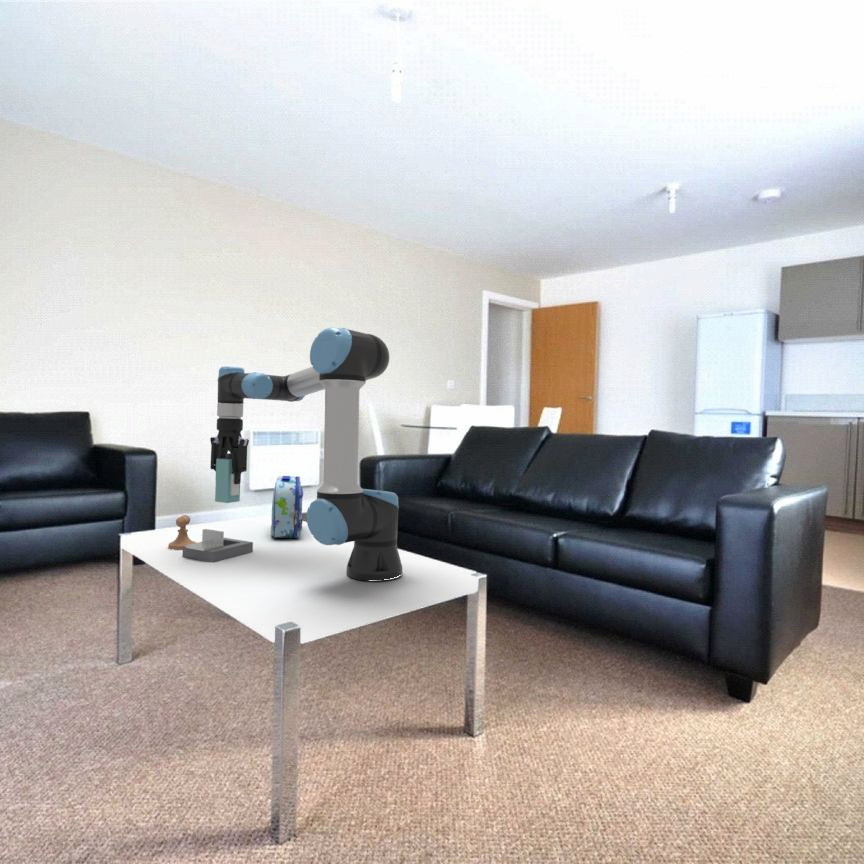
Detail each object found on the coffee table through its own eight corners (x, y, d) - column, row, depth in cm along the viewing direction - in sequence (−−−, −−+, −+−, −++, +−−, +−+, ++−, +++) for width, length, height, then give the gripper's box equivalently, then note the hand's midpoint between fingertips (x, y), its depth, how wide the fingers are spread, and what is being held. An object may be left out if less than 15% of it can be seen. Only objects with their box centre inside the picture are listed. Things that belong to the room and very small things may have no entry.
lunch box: (302, 541, 198) (304, 479, 197) (269, 541, 195) (271, 479, 195) (300, 527, 223) (302, 472, 223) (271, 527, 220) (273, 472, 220)
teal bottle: (239, 501, 178) (241, 453, 178) (227, 503, 174) (228, 454, 174) (227, 499, 181) (229, 452, 180) (215, 501, 176) (216, 453, 176)
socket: (252, 551, 180) (252, 542, 179) (212, 562, 165) (213, 551, 165) (223, 546, 185) (223, 537, 185) (182, 556, 170) (182, 546, 170)
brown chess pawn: (200, 514, 187) (193, 518, 179) (199, 544, 187) (192, 550, 179) (173, 513, 186) (165, 518, 178) (173, 544, 186) (164, 549, 178)
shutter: (223, 546, 172) (223, 531, 172) (204, 551, 165) (204, 535, 165) (205, 543, 175) (205, 528, 175) (185, 547, 168) (186, 532, 168)
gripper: (261, 419, 176) (258, 495, 177) (217, 417, 184) (215, 490, 184) (243, 418, 169) (240, 498, 170) (198, 416, 177) (196, 492, 178)
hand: (227, 493), depth 177 cm, fingers closed on teal bottle, 5 cm apart
